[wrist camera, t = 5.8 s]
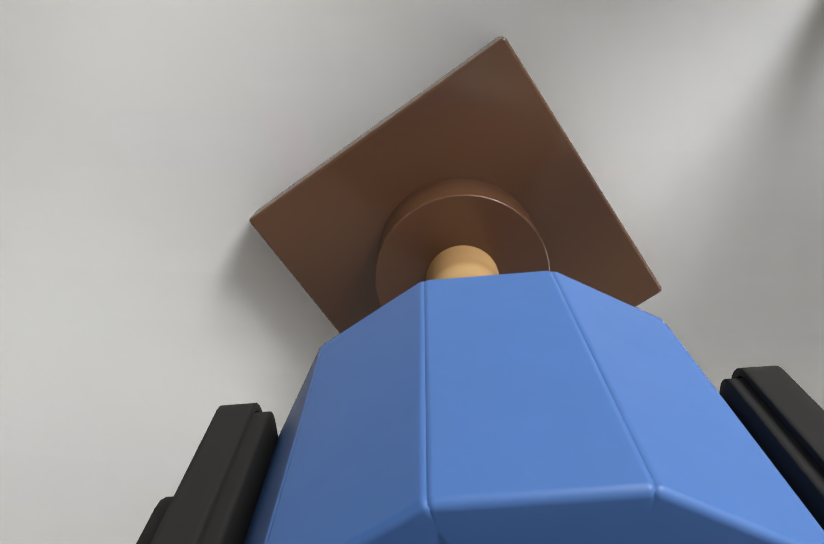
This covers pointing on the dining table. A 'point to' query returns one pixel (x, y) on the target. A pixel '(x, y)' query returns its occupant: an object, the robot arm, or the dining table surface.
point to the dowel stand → (452, 200)
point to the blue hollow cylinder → (517, 430)
